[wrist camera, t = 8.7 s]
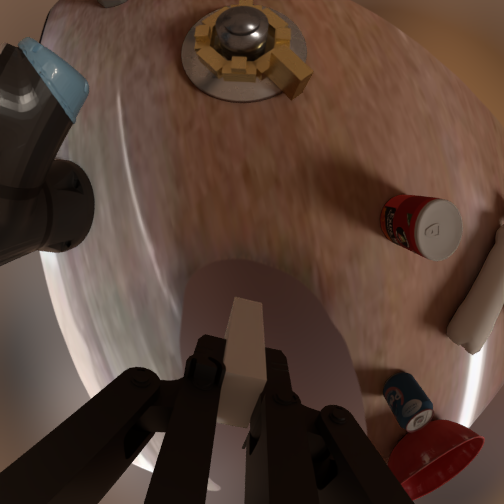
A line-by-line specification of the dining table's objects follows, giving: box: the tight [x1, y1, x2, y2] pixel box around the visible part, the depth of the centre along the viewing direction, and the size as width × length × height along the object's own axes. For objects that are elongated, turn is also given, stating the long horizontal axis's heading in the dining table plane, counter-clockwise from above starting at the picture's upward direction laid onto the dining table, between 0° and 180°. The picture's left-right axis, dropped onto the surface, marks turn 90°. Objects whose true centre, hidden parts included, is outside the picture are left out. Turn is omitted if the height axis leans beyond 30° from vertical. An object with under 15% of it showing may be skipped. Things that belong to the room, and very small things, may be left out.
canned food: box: [380, 195, 463, 261], centre depth 33 cm, size 8×8×11 cm
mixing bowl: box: [388, 420, 484, 501], centre depth 44 cm, size 28×28×16 cm
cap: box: [181, 6, 307, 103], centre depth 28 cm, size 18×18×9 cm
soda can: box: [383, 372, 434, 432], centre depth 40 cm, size 7×7×12 cm
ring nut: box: [194, 0, 314, 101], centre depth 28 cm, size 12×17×8 cm
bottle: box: [447, 224, 504, 355], centre depth 36 cm, size 9×9×30 cm
